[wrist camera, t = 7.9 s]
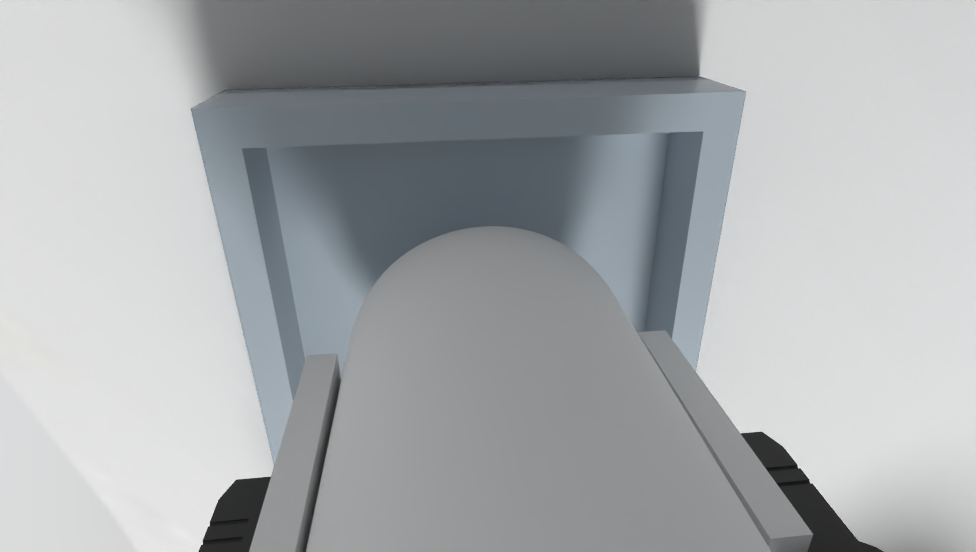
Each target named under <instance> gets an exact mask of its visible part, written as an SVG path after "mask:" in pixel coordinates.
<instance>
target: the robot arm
mask: <svg viewBox="0 0 976 552" xmlns="http://www.w3.org/2000/svg"><path fill="white" fill-rule="evenodd" d="M638 335H639V337H640V338H641V340H642V341H643V343H644V345H645V346H646V348H647V350H648V351H649V353H650V354H651V356H652V358H653V359H654V361H655V363H656V364H657V366H658V367H659V369H660V371H661V372H662V374H663V376H664V377H665V379H666V381H667V382H668V384H669V385H670V387H671V389H672V390H673V392H674V394H675V395H676V397H677V398H678V400H679V402H680V403H681V405H682V407H683V408H684V410H685V411H686V413H687V415H688V416H689V418H690V420H691V421H692V423H693V425H694V426H695V428H696V429H697V431H698V433H699V434H700V436H701V438H702V439H703V441H704V442H705V444H706V446H707V447H708V449H709V451H710V452H711V454H712V455H713V457H714V459H715V460H716V462H717V464H718V465H719V467H720V469H721V470H722V472H723V473H724V475H725V477H726V478H727V480H728V482H729V483H730V485H731V486H732V488H733V490H734V491H735V493H736V495H737V496H738V498H739V499H740V501H741V503H742V504H743V506H744V508H745V509H746V511H747V513H748V514H749V516H750V517H751V519H752V521H753V522H754V524H755V526H756V527H757V529H758V530H759V532H760V534H761V535H762V537H763V539H764V540H765V542H766V543H767V545H768V547H769V548H770V550H771V552H883V551H882V550H880V549H878V548H877V547H874V546H871V545H868V544H865V543H862V542H859V541H858V540H857V539H856V538H855V537H854V535H853V534H852V533H851V532H850V530H849V529H848V528H847V527H846V525H845V524H844V523H843V522H842V520H841V519H840V518H839V517H838V515H837V514H836V513H835V512H834V510H833V509H832V508H831V507H830V505H829V504H828V503H827V501H826V500H825V499H824V498H823V496H822V495H821V494H820V493H819V491H818V490H817V489H816V488H815V486H814V485H813V484H810V482H809V479H808V478H807V476H806V475H805V474H804V473H803V471H802V470H801V469H798V467H797V464H796V463H795V461H794V460H793V459H792V458H791V456H790V455H789V454H788V453H787V451H786V450H785V449H784V447H783V446H781V445H780V444H778V443H777V442H775V441H774V440H773V439H771V438H770V437H768V436H767V435H766V434H764V433H763V432H753V433H741V434H740V432H739V431H738V430H737V428H736V427H735V426H734V424H733V423H732V421H731V420H730V419H729V417H728V416H727V415H726V413H725V412H724V410H723V409H722V408H721V406H720V405H719V403H718V402H717V401H716V399H715V398H714V397H713V395H712V394H711V392H710V391H709V390H708V388H707V387H706V386H705V384H704V383H703V381H702V380H701V379H700V377H699V376H698V374H697V373H696V372H695V370H694V369H693V368H692V366H691V365H690V363H689V362H688V361H687V359H686V358H685V357H684V355H683V354H682V352H681V351H680V350H679V348H678V347H677V346H676V344H675V343H674V341H673V340H672V339H671V337H670V336H669V334H668V333H667V332H666V330H662V331H648V332H638ZM340 385H341V375H340V369H339V362H338V355H337V353H336V354H322V355H308V356H307V357H306V360H305V363H304V367H303V370H302V374H301V377H300V380H299V384H298V387H297V391H296V394H295V397H294V401H293V404H292V408H291V411H290V414H289V418H288V421H287V425H286V428H285V431H284V435H283V438H282V442H281V445H280V448H279V452H278V455H277V458H276V462H275V465H274V469H273V472H272V475H271V477H263V478H251V479H240V480H236V481H235V482H234V483H233V484H232V485H231V486H230V487H229V489H228V490H227V491H226V492H225V493H224V494H223V495H222V497H221V498H220V499H219V500H218V503H217V505H216V508H215V511H214V513H213V516H212V518H211V521H210V527H208V529H207V531H206V534H205V537H204V539H203V545H201V547H200V550H199V552H306V549H307V544H308V539H309V534H310V529H311V524H312V520H313V515H314V510H315V505H316V500H317V496H318V491H319V486H320V481H321V476H322V471H323V467H324V462H325V457H326V452H327V447H328V443H329V438H330V433H331V428H332V423H333V418H334V414H335V409H336V404H337V399H338V394H339V390H340Z"/></svg>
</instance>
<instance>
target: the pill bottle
mask: <svg viewBox="0 0 976 552" xmlns="http://www.w3.org/2000/svg"><path fill="white" fill-rule="evenodd" d="M306 552H771V550H770V548H769V547H768V545H767V543H766V542H765V540H764V539H763V537H762V535H761V534H760V532H759V530H758V529H757V527H756V526H755V524H754V522H753V521H752V519H751V517H750V516H749V514H748V513H747V511H746V509H745V508H744V506H743V504H742V503H741V501H740V499H739V498H738V496H737V495H736V493H735V491H734V490H733V488H732V486H731V485H730V483H729V482H728V480H727V478H726V477H725V475H724V473H723V472H722V470H721V469H720V467H719V465H718V464H717V462H716V460H715V459H714V457H713V455H712V454H711V452H710V451H709V449H708V447H707V446H706V444H705V442H704V441H703V439H702V438H701V436H700V434H699V433H698V431H697V429H696V428H695V426H694V425H693V423H692V421H691V420H690V418H689V416H688V415H687V413H686V411H685V410H684V408H683V407H682V405H681V403H680V402H679V400H678V398H677V397H676V395H675V394H674V392H673V390H672V389H671V387H670V385H669V384H668V382H667V381H666V379H665V377H664V376H663V374H662V372H661V371H660V369H659V367H658V366H657V364H656V363H655V361H654V359H653V358H652V356H651V354H650V353H649V351H648V350H647V348H646V346H645V345H644V343H643V341H642V340H641V338H640V337H639V335H638V333H637V332H636V330H635V328H634V327H633V325H632V323H631V322H630V320H629V319H628V317H627V315H626V314H625V312H624V310H623V309H622V307H621V306H620V304H619V302H618V301H617V299H616V297H615V296H614V294H613V293H612V291H611V289H610V288H609V286H608V285H607V284H606V282H605V281H604V280H603V278H602V277H601V276H600V275H599V274H598V273H597V272H596V271H595V270H594V269H593V267H592V266H591V265H590V264H589V263H588V262H587V261H585V260H584V259H583V258H582V257H581V256H580V255H578V254H577V253H576V252H574V251H573V250H572V249H570V248H569V247H567V246H565V245H564V244H562V243H560V242H558V241H556V240H554V239H552V238H550V237H547V236H545V235H542V234H539V233H536V232H533V231H529V230H525V229H520V228H513V227H504V226H482V227H472V228H466V229H461V230H456V231H453V232H449V233H446V234H443V235H440V236H437V237H435V238H432V239H430V240H428V241H426V242H424V243H422V244H420V245H418V246H416V247H415V248H413V249H411V250H410V251H408V252H407V253H406V254H404V255H403V256H401V257H400V258H399V259H398V260H396V261H395V262H394V263H393V264H392V265H391V266H390V267H389V268H388V269H387V270H386V271H385V272H384V273H383V274H382V275H381V276H380V277H379V279H378V280H377V281H376V282H375V284H374V285H373V287H372V288H371V290H370V291H369V293H368V294H367V296H366V298H365V300H364V302H363V304H362V306H361V308H360V311H359V313H358V315H357V318H356V320H355V323H354V326H353V329H352V332H351V337H350V341H349V346H348V351H347V356H346V361H345V365H344V370H343V375H342V380H341V385H340V390H339V394H338V399H337V404H336V409H335V414H334V418H333V423H332V428H331V433H330V438H329V443H328V447H327V452H326V457H325V462H324V467H323V471H322V476H321V481H320V486H319V491H318V496H317V500H316V505H315V510H314V515H313V520H312V524H311V529H310V534H309V539H308V544H307V549H306Z"/></svg>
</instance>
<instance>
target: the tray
mask: <svg viewBox="0 0 976 552" xmlns="http://www.w3.org/2000/svg"><path fill="white" fill-rule="evenodd" d="M745 95H746V91H743V90H740V89H737V88H734V87H730V86H727V85H724V84H721V83H718V82H715V81H712V80H709V79H706V78H703V77H669V78H634V79H599V80H563V81H528V82H493V83H457V84H422V85H387V86H351V87H316V88H281V89H245V90H224V91H222V92H221V93H219V94H217V95H215V96H213V97H211V98H210V99H208V100H206V101H204V102H202V103H200V104H199V105H197V106H195V107H193V108H191V112H192V116H193V120H194V125H195V129H196V133H197V137H198V142H199V146H200V150H201V155H202V159H203V163H204V167H205V172H206V176H207V180H208V184H209V189H210V193H211V197H212V202H213V206H214V210H215V214H216V219H217V223H218V227H219V232H220V236H221V240H222V244H223V249H224V253H225V257H226V261H227V266H228V270H229V274H230V279H231V283H232V287H233V291H234V296H235V300H236V304H237V308H238V313H239V317H240V321H241V326H242V330H243V334H244V338H245V343H246V347H247V351H248V355H249V360H250V364H251V368H252V373H253V377H254V381H255V385H256V390H257V394H258V398H259V402H260V407H261V411H262V415H263V420H264V424H265V428H266V432H267V437H268V441H269V445H270V449H271V454H272V458H273V462H274V465H275V462H276V458H277V455H278V452H279V448H280V445H281V442H282V438H283V435H284V431H285V428H286V425H287V421H288V418H289V414H290V411H291V408H292V404H293V401H294V397H295V394H296V391H297V387H298V384H299V380H300V377H301V374H302V370H303V367H304V363H305V360H306V357H307V356H308V355H322V354H336V353H337V355H338V362H339V369H340V375H341V380H342V375H343V370H344V365H345V361H346V356H347V351H348V346H349V341H350V337H351V332H352V329H353V326H354V323H355V320H356V318H357V315H358V313H359V311H360V308H361V306H362V304H363V302H364V300H365V298H366V296H367V294H368V293H369V291H370V290H371V288H372V287H373V285H374V284H375V282H376V281H377V280H378V279H379V277H380V276H381V275H382V274H383V273H384V272H385V271H386V270H387V269H388V268H389V267H390V266H391V265H392V264H393V263H394V262H395V261H396V260H398V259H399V258H400V257H401V256H403V255H404V254H406V253H407V252H408V251H410V250H411V249H413V248H415V247H416V246H418V245H420V244H422V243H424V242H426V241H428V240H430V239H432V238H435V237H437V236H440V235H443V234H446V233H449V232H453V231H456V230H461V229H466V228H472V227H482V226H504V227H513V228H520V229H525V230H529V231H533V232H536V233H539V234H542V235H545V236H547V237H550V238H552V239H554V240H556V241H558V242H560V243H562V244H564V245H565V246H567V247H569V248H570V249H572V250H573V251H574V252H576V253H577V254H578V255H580V256H581V257H582V258H583V259H584V260H585V261H587V262H588V263H589V264H590V265H591V266H592V267H593V269H594V270H595V271H596V272H597V273H598V274H599V275H600V276H601V277H602V278H603V280H604V281H605V282H606V284H607V285H608V286H609V288H610V289H611V291H612V293H613V294H614V296H615V297H616V299H617V301H618V302H619V304H620V306H621V307H622V309H623V310H624V312H625V314H626V315H627V317H628V319H629V320H630V322H631V323H632V325H633V327H634V328H635V330H636V332H637V333H638V332H648V331H662V330H666V332H667V333H668V334H669V336H670V337H671V339H672V340H673V341H674V343H675V344H676V346H677V347H678V348H679V350H680V351H681V352H682V354H683V355H684V357H685V358H686V359H687V361H688V362H689V363H690V365H691V366H692V368H693V369H694V370H695V372H696V367H697V362H698V356H699V351H700V345H701V340H702V334H703V329H704V323H705V317H706V312H707V306H708V301H709V295H710V290H711V284H712V279H713V273H714V268H715V262H716V256H717V251H718V245H719V240H720V234H721V229H722V223H723V218H724V212H725V206H726V201H727V195H728V190H729V184H730V179H731V173H732V168H733V162H734V156H735V151H736V145H737V140H738V134H739V129H740V123H741V118H742V112H743V106H744V101H745Z"/></svg>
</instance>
